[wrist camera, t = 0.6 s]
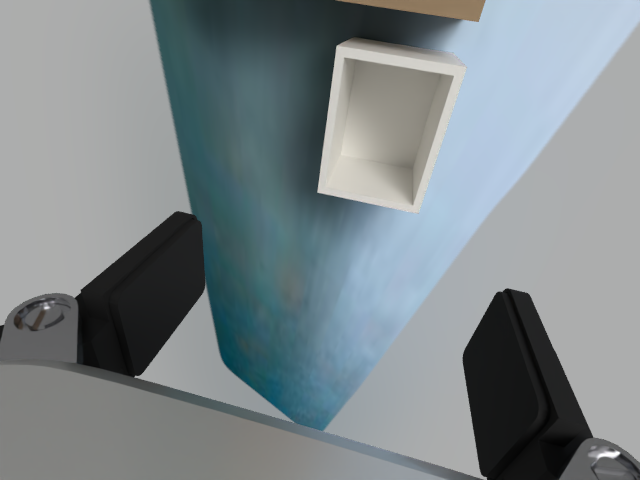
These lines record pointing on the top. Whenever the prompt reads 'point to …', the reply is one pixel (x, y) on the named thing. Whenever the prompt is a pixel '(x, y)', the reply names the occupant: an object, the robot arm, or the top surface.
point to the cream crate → (387, 121)
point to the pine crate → (432, 7)
